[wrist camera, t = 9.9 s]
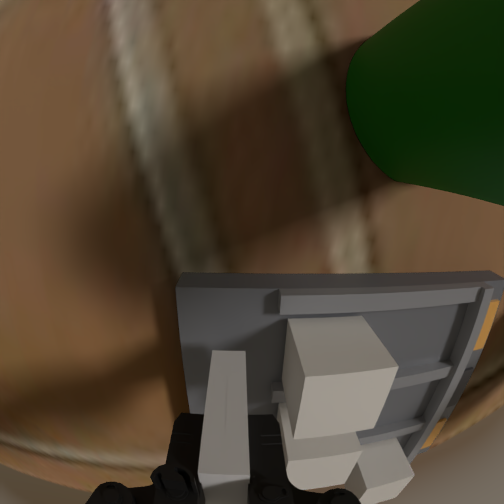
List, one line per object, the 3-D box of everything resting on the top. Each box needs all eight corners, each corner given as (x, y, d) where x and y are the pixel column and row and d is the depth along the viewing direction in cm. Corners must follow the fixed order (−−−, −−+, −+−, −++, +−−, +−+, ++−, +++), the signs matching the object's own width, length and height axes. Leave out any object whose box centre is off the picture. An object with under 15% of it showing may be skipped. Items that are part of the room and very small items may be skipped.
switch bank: (204, 464, 21) (202, 492, 18) (182, 272, 16) (170, 297, 13) (420, 438, 22) (431, 458, 19) (489, 270, 17) (516, 285, 14)
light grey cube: (273, 439, 17) (280, 492, 13) (278, 402, 16) (288, 461, 12) (329, 434, 17) (344, 483, 13) (341, 397, 16) (362, 450, 12)
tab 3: (339, 469, 19) (351, 509, 15) (351, 445, 18) (367, 489, 14) (380, 460, 19) (395, 497, 15) (395, 435, 18) (414, 475, 14)
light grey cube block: (281, 378, 16) (293, 439, 11) (287, 318, 14) (305, 376, 10) (348, 374, 16) (373, 428, 11) (361, 315, 15) (398, 366, 10)
